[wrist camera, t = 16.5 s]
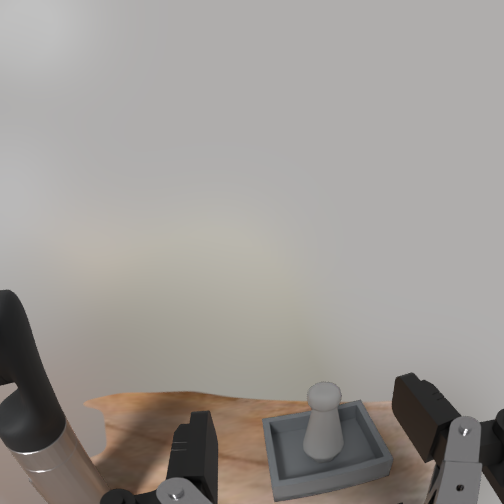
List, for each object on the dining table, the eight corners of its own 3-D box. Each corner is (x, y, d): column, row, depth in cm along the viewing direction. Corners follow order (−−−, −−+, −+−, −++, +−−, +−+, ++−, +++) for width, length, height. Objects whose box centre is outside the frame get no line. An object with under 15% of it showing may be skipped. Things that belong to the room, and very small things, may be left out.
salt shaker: (300, 466, 37) (296, 402, 34) (306, 439, 43) (303, 375, 40) (341, 467, 36) (347, 403, 33) (344, 440, 41) (347, 374, 38)
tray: (274, 501, 33) (272, 487, 32) (264, 435, 46) (262, 418, 45) (388, 475, 33) (393, 458, 32) (359, 416, 47) (360, 399, 46)
